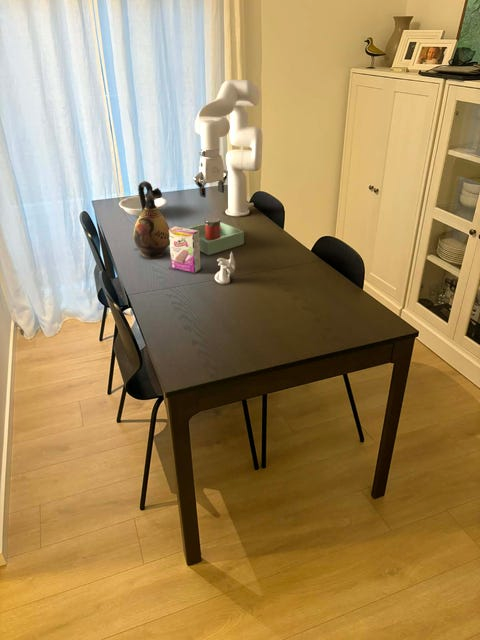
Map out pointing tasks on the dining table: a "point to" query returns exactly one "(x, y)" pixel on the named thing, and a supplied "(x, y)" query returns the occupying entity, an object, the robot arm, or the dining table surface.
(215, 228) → the red glass jar
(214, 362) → the dining table surface
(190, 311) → the dining table surface
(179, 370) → the dining table surface
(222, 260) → the figurine
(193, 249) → the candy bar box
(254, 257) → the dining table surface
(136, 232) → the ceramic jug
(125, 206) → the soup bowl
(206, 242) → the green square tray
